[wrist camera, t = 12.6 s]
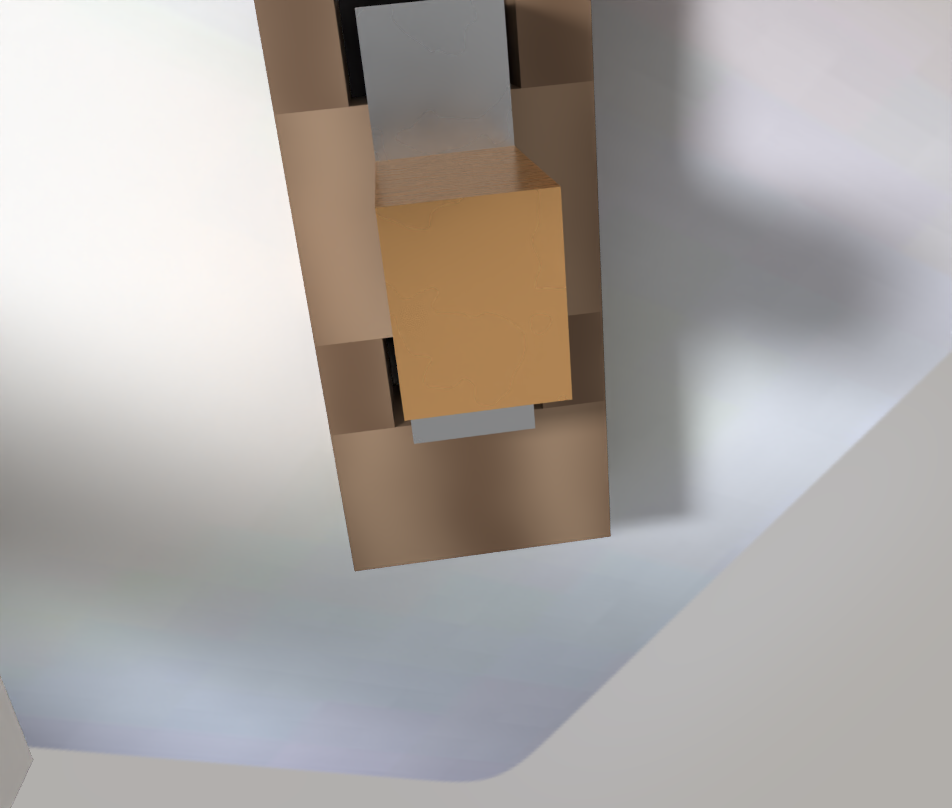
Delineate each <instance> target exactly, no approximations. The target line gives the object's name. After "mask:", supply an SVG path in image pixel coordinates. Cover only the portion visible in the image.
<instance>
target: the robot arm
mask: <svg viewBox="0 0 952 808" xmlns="http://www.w3.org/2000/svg"><path fill="white" fill-rule="evenodd" d="M32 761H33V758H32V755H31V753H30V750H29V748H28V745H27V743H26V740H25V737H24V735H23V732H22V730H21V727H20V725H19V722H18V720H17V717H16V714H15V712H14V709H13V707H12V704H11V702H10V699H9V697H8V694H7V691H6V689H5V686H4V684H3V681H2V679H1V676H0V808H11V807H12V804H13V802H14V800H15V798H16V796H17V793H18V791H19V789H20V787H21V785H22V783H23V781H24V779H25V776H26V774H27V772H28V770H29V768H30V766H31V763H32Z"/></svg>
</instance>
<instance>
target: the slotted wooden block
mask: <svg viewBox="0 0 952 808" xmlns="http://www.w3.org/2000/svg"><path fill="white" fill-rule="evenodd" d="M254 3H255V9H256V15H257V20H258V26H259V32H260V37H261V43H262V49H263V54H264V60H265V66H266V71H267V77H268V83H269V88H270V94H271V100H272V105H273V111H274V117H275V123H276V128H277V134H278V140H279V145H280V151H281V157H282V162H283V168H284V174H285V179H286V185H287V191H288V196H289V202H290V208H291V213H292V219H293V225H294V230H295V236H296V242H297V247H298V253H299V259H300V264H301V270H302V276H303V281H304V287H305V293H306V298H307V304H308V310H309V315H310V321H311V327H312V332H313V338H314V344H315V349H316V355H317V361H318V366H319V372H320V378H321V383H322V389H323V395H324V400H325V406H326V412H327V417H328V423H329V429H330V434H331V440H332V446H333V451H334V457H335V463H336V468H337V474H338V480H339V485H340V491H341V497H342V502H343V508H344V514H345V519H346V525H347V531H348V536H349V542H350V548H351V553H352V559H353V565H354V570H355V571H361V570H368V569H375V568H383V567H390V566H397V565H405V564H412V563H419V562H427V561H434V560H441V559H449V558H456V557H463V556H471V555H478V554H485V553H493V552H500V551H507V550H515V549H522V548H529V547H537V546H544V545H551V544H559V543H566V542H573V541H581V540H588V539H595V538H603V537H610V536H611V534H610V507H609V480H608V453H607V426H606V399H605V372H604V345H603V318H602V290H601V263H600V236H599V209H598V182H597V155H596V128H595V101H594V74H593V47H592V20H591V0H504V10H505V23H506V37H507V50H508V64H509V78H510V91H511V105H512V118H513V132H514V145H515V147H516V148H518V149H519V150H520V151H521V152H522V153H523V154H524V155H526V156H527V157H528V158H529V159H530V160H531V161H532V162H534V163H535V164H536V165H537V166H538V167H539V168H540V169H541V170H543V171H544V172H545V173H546V174H547V175H548V176H549V177H551V178H552V179H553V180H554V181H555V182H556V183H557V184H558V185H560V186H561V200H562V218H563V237H564V255H565V274H566V292H567V311H568V329H569V347H570V366H571V384H572V399H571V400H564V401H556V402H548V403H540V404H534V417H535V428H533V429H525V430H518V431H510V432H502V433H495V434H487V435H479V436H471V437H464V438H456V439H448V440H440V441H433V442H425V443H417V444H414V441H413V434H412V426H411V420H407V421H405V420H404V413H403V406H402V399H401V392H400V385H396V386H393V382H392V375H391V368H390V361H389V354H388V347H387V340H386V338H389V337H393V334H392V327H391V320H390V312H389V305H388V298H387V291H386V284H385V276H384V269H383V262H382V255H381V248H380V240H379V233H378V226H377V219H376V211H375V165H376V161H375V154H374V146H373V139H372V131H371V124H370V117H369V109H368V102H367V96H358V97H352V92H351V85H350V78H349V71H348V64H347V57H346V50H345V43H344V36H343V29H342V22H341V15H340V8H339V0H254Z"/></svg>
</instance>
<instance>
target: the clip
mask: <svg viewBox="0 0 952 808" xmlns="http://www.w3.org/2000/svg"><path fill="white" fill-rule="evenodd" d="M355 13H356V21H357V28H358V36H359V43H360V50H361V58H362V65H363V72H364V80H365V87H366V95H367V102H368V109H369V117H370V124H371V131H372V139H373V146H374V154H375V161H376V165H375V211H376V219H377V226H378V233H379V240H380V248H381V255H382V262H383V269H384V276H385V284H386V291H387V298H388V305H389V312H390V320H391V327H392V334H393V341H394V348H395V356H396V363H397V370H398V377H399V384H400V392H401V399H402V406H403V413H404V420H405V421H407V420H411V426H412V434H413V441H414V444H417V443H425V442H433V441H440V440H448V439H456V438H464V437H471V436H479V435H487V434H495V433H502V432H510V431H518V430H525V429H533V428H535V417H534V404H540V403H548V402H556V401H564V400H571V399H572V384H571V366H570V347H569V329H568V311H567V292H566V274H565V255H564V237H563V218H562V200H561V186H560V185H558V184H557V183H556V182H555V181H554V180H553V179H552V178H551V177H549V176H548V175H547V174H546V173H545V172H544V171H543V170H541V169H540V168H539V167H538V166H537V165H536V164H535V163H534V162H532V161H531V160H530V159H529V158H528V157H527V156H526V155H524V154H523V153H522V152H521V151H520V150H519V149H518V148H516V147H515V145H514V132H513V118H512V105H511V91H510V78H509V64H508V50H507V37H506V23H505V10H504V0H426V1H416V2H406V3H397V4H387V5H377V6H367V7H357V8H355Z"/></svg>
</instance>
